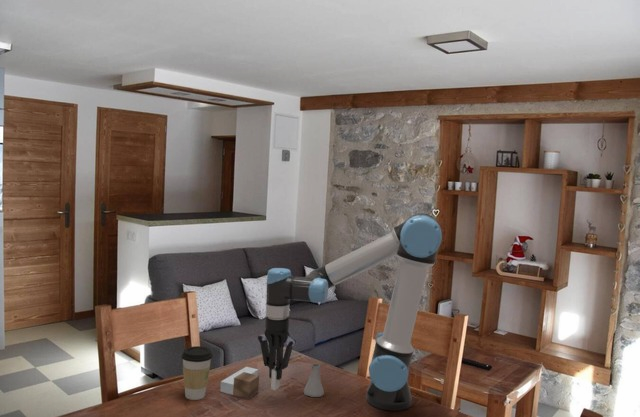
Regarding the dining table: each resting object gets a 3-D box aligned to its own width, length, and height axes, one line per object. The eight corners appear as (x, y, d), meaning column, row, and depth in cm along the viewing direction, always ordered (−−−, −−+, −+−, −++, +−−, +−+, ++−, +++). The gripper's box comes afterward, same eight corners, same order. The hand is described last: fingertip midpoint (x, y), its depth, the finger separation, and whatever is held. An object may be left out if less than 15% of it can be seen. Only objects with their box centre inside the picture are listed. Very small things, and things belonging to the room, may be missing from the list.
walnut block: (258, 393, 180) (259, 375, 180) (248, 399, 175) (249, 381, 174) (242, 389, 183) (243, 372, 182) (233, 395, 177) (234, 377, 177)
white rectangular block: (257, 379, 192) (258, 369, 192) (233, 395, 177) (233, 384, 177) (245, 376, 194) (246, 366, 194) (220, 391, 179) (220, 381, 179)
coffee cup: (216, 394, 177) (219, 349, 176) (197, 405, 168) (200, 358, 167) (192, 387, 181) (194, 343, 180) (173, 397, 172) (175, 351, 171)
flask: (322, 399, 179) (324, 370, 178) (301, 396, 180) (303, 366, 180) (326, 390, 186) (328, 362, 185) (305, 387, 187) (307, 359, 187)
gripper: (300, 317, 174) (298, 388, 175) (265, 311, 179) (263, 380, 180) (290, 322, 167) (287, 396, 168) (253, 316, 172) (251, 388, 174)
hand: (275, 388), depth 174 cm, fingers closed
